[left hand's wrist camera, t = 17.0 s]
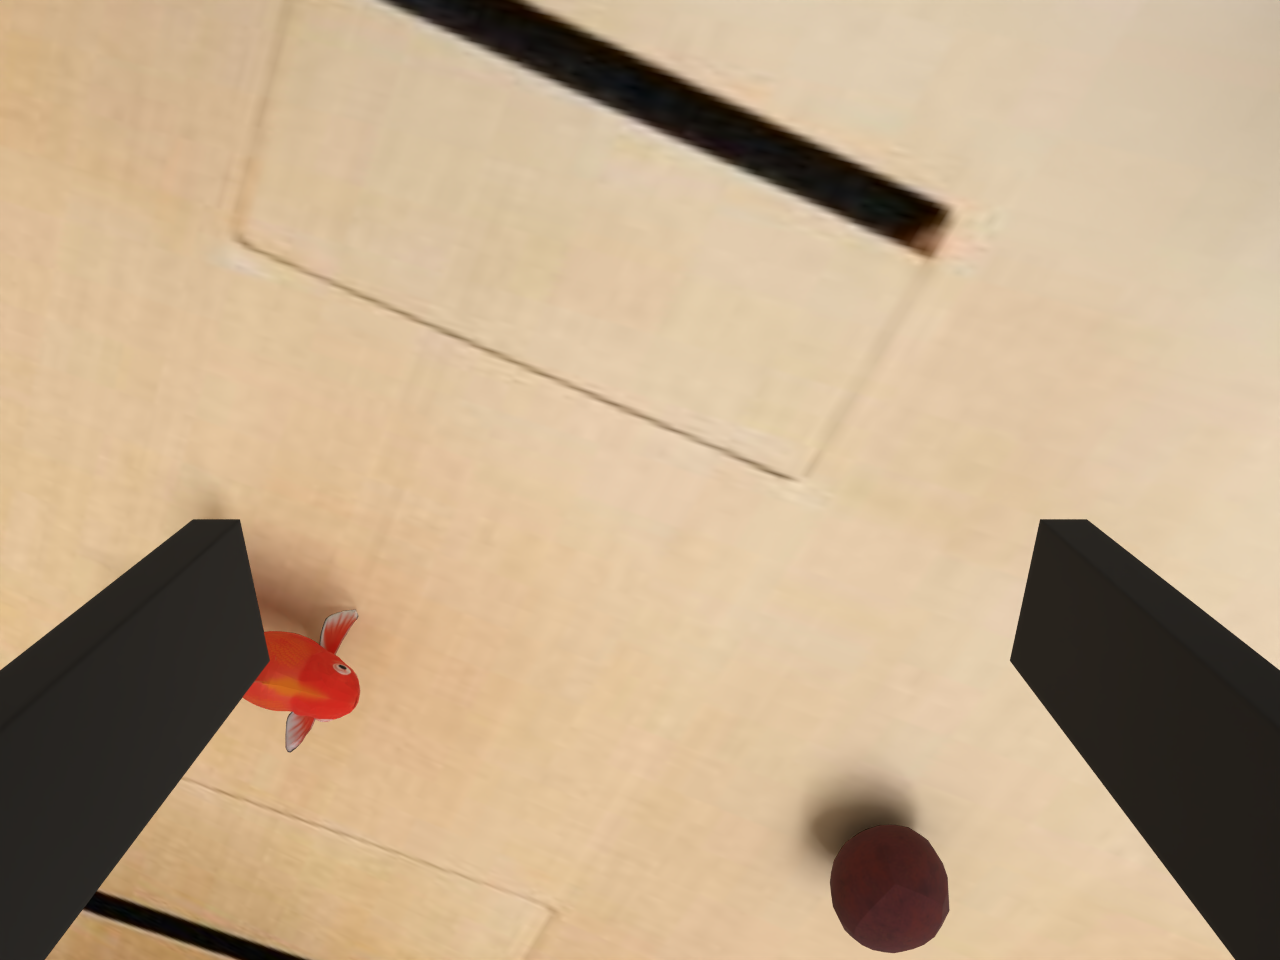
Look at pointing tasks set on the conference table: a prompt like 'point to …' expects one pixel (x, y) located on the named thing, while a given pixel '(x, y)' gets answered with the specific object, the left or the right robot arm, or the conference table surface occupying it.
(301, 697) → the fish
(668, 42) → the conference table surface
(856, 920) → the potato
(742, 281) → the conference table surface
